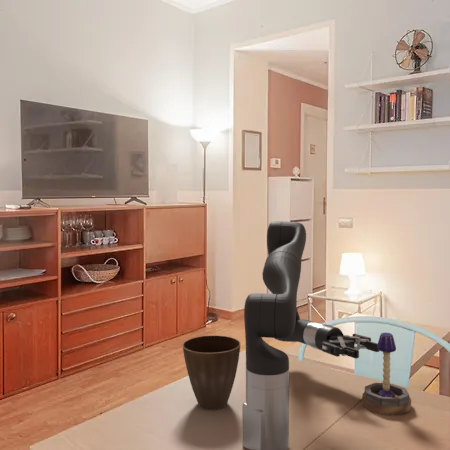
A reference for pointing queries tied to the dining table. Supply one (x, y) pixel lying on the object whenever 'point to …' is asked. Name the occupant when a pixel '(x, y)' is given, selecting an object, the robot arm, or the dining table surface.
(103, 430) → the dining table surface
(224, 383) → the plant pot
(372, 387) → the plinth
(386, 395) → the toy lamp
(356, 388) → the dining table surface
